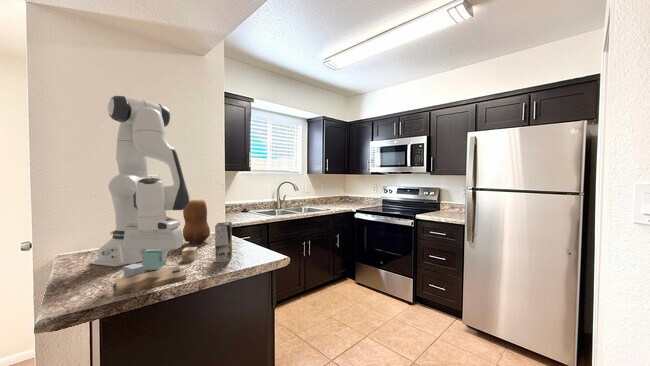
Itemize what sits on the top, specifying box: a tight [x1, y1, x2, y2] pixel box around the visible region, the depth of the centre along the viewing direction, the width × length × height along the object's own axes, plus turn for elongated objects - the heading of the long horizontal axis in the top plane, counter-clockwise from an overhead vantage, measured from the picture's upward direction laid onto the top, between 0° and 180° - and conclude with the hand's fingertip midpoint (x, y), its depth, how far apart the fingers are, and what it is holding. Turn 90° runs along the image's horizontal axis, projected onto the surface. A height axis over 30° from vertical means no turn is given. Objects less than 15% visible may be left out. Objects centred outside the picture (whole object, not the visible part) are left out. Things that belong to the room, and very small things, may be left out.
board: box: [115, 266, 187, 296], centre depth 96 cm, size 20×12×2 cm, turn 131°
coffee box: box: [214, 221, 233, 263], centre depth 121 cm, size 9×6×16 cm
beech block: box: [181, 246, 199, 263], centre depth 120 cm, size 5×5×5 cm
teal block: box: [142, 249, 167, 271], centre depth 96 cm, size 5×5×6 cm
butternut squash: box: [182, 198, 211, 245], centre depth 146 cm, size 14×13×25 cm
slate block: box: [123, 263, 146, 278], centre depth 101 cm, size 6×4×4 cm, turn 66°
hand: (154, 261), depth 96 cm, fingers closed on teal block, 5 cm apart
